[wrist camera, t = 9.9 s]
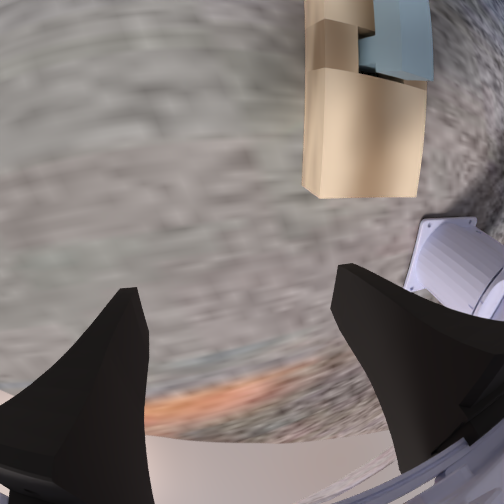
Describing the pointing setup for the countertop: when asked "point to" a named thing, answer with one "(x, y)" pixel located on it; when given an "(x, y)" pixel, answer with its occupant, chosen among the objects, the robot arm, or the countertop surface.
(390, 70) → the clip
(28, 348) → the countertop surface
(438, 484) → the robot arm
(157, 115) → the countertop surface
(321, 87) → the rail
